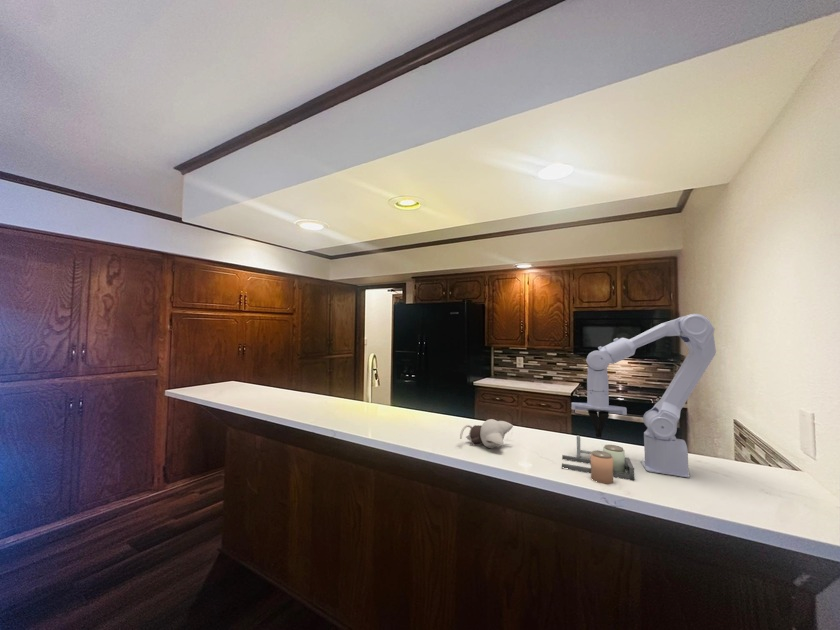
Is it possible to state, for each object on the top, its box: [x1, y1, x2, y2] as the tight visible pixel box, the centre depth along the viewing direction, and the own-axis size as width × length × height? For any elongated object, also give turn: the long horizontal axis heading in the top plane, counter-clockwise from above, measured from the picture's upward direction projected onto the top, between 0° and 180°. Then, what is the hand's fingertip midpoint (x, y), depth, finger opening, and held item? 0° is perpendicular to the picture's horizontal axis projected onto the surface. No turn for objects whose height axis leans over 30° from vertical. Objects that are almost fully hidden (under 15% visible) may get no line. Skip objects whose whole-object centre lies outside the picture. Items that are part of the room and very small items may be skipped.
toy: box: [459, 418, 514, 450], centre depth 108 cm, size 13×9×15 cm
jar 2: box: [602, 444, 626, 474], centre depth 89 cm, size 5×5×6 cm
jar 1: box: [590, 450, 614, 485], centre depth 83 cm, size 5×5×6 cm
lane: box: [561, 454, 636, 481], centre depth 90 cm, size 17×8×3 cm, turn 65°
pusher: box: [576, 435, 600, 458], centre depth 94 cm, size 6×12×6 cm, turn 155°
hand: (598, 436), depth 98 cm, fingers closed
